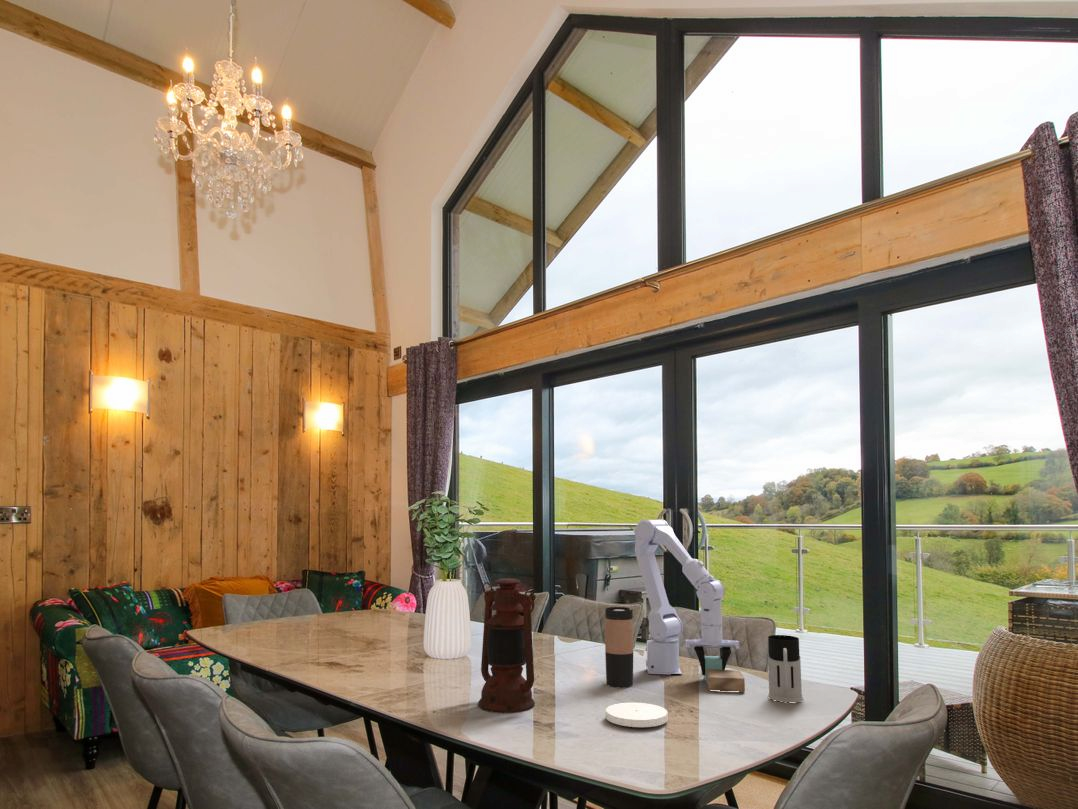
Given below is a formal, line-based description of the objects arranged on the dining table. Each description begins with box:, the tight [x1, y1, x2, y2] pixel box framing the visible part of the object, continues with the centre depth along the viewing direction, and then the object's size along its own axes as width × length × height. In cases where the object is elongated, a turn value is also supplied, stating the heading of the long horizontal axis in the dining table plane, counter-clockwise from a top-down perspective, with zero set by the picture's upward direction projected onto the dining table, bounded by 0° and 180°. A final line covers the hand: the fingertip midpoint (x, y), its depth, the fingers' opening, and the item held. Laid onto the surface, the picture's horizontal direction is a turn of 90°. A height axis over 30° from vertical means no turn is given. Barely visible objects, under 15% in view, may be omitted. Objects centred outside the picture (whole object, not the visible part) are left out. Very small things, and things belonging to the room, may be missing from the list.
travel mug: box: [604, 606, 634, 688], centre depth 202 cm, size 8×8×20 cm
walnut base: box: [705, 669, 746, 693], centre depth 198 cm, size 9×9×4 cm
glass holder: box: [767, 634, 805, 703], centre depth 186 cm, size 9×14×15 cm, turn 164°
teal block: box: [703, 655, 722, 681], centre depth 206 cm, size 4×4×6 cm
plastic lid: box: [605, 702, 669, 728], centre depth 168 cm, size 14×14×2 cm
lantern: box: [477, 577, 537, 714], centre depth 183 cm, size 17×14×30 cm
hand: (712, 674), depth 206 cm, fingers closed on teal block, 4 cm apart
